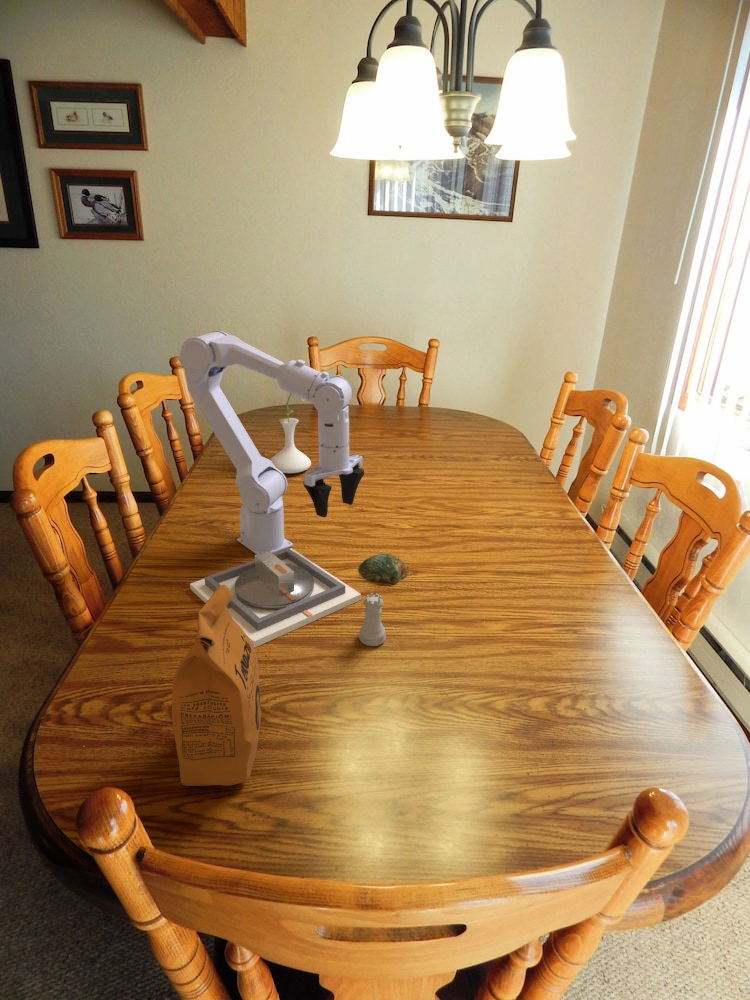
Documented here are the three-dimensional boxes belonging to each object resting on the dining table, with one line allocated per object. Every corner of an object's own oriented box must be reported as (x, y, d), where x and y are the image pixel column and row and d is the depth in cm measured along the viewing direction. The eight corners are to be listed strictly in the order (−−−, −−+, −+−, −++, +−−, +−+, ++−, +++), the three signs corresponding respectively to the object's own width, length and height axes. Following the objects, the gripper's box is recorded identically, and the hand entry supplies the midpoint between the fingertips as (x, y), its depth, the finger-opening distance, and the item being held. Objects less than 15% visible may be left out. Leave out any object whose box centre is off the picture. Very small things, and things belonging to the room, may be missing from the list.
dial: (257, 618, 103) (255, 591, 101) (222, 581, 113) (220, 556, 111) (328, 593, 111) (328, 567, 109) (289, 560, 121) (289, 536, 119)
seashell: (401, 539, 125) (416, 563, 116) (401, 556, 127) (417, 582, 118) (352, 547, 123) (364, 573, 114) (354, 564, 125) (365, 591, 116)
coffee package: (273, 719, 84) (266, 579, 75) (251, 796, 73) (240, 641, 64) (200, 714, 85) (185, 574, 76) (168, 790, 73) (145, 636, 65)
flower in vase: (308, 477, 164) (307, 384, 154) (265, 476, 165) (261, 382, 154) (314, 460, 176) (313, 372, 166) (274, 459, 176) (270, 371, 166)
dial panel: (190, 589, 113) (189, 576, 112) (291, 553, 127) (291, 541, 126) (254, 647, 98) (253, 633, 97) (360, 599, 112) (361, 586, 111)
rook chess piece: (370, 627, 104) (371, 586, 101) (391, 638, 102) (393, 596, 98) (352, 639, 101) (353, 597, 98) (374, 651, 98) (375, 608, 95)
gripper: (322, 457, 109) (324, 527, 115) (374, 438, 120) (374, 503, 125) (294, 449, 113) (297, 517, 119) (347, 431, 124) (347, 494, 129)
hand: (335, 509), depth 122 cm, fingers open, 7 cm apart
